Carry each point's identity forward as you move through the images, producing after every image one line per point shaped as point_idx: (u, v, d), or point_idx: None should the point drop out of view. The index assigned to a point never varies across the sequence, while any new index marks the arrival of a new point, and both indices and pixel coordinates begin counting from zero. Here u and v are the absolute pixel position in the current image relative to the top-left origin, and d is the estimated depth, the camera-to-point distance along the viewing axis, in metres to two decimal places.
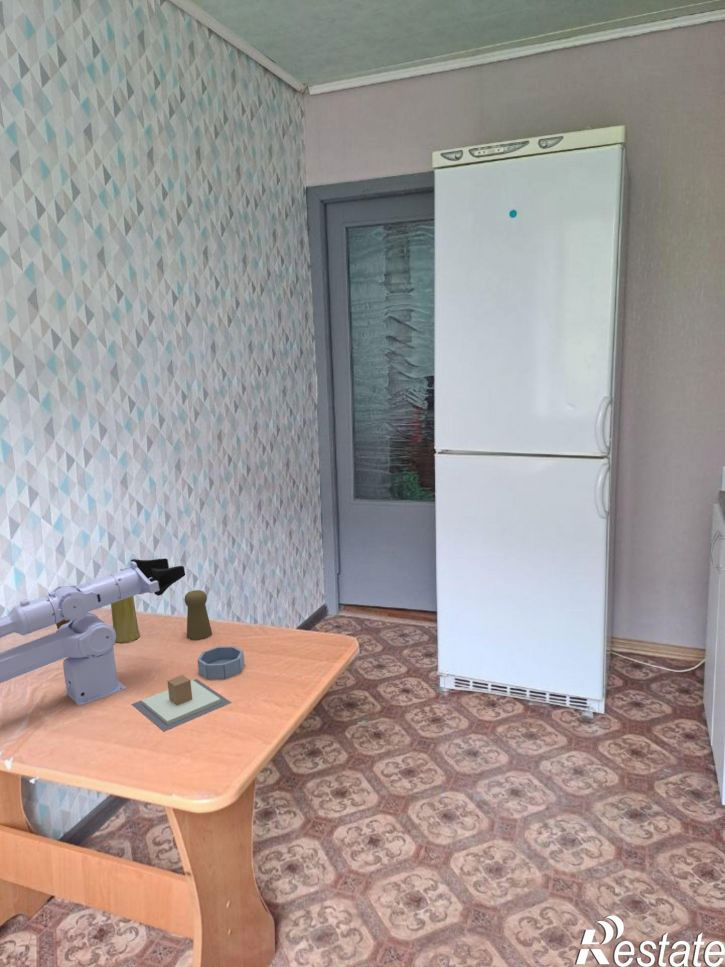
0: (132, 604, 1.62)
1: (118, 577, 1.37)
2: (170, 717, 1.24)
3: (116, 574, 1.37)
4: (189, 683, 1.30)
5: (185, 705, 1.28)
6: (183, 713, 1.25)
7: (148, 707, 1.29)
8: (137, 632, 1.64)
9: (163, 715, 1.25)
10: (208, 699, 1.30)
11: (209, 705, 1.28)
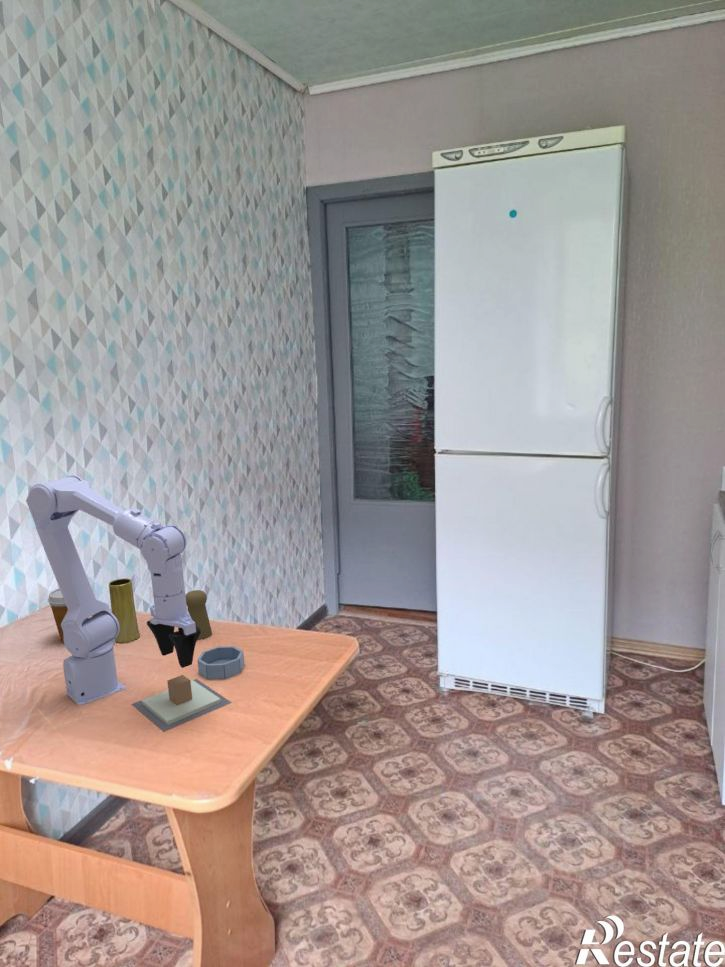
0: (132, 604, 1.62)
1: None
2: (170, 717, 1.24)
3: (154, 599, 1.25)
4: (189, 683, 1.30)
5: (185, 705, 1.28)
6: (183, 713, 1.25)
7: (148, 707, 1.29)
8: (137, 632, 1.64)
9: (163, 715, 1.25)
10: (208, 699, 1.30)
11: (209, 705, 1.28)
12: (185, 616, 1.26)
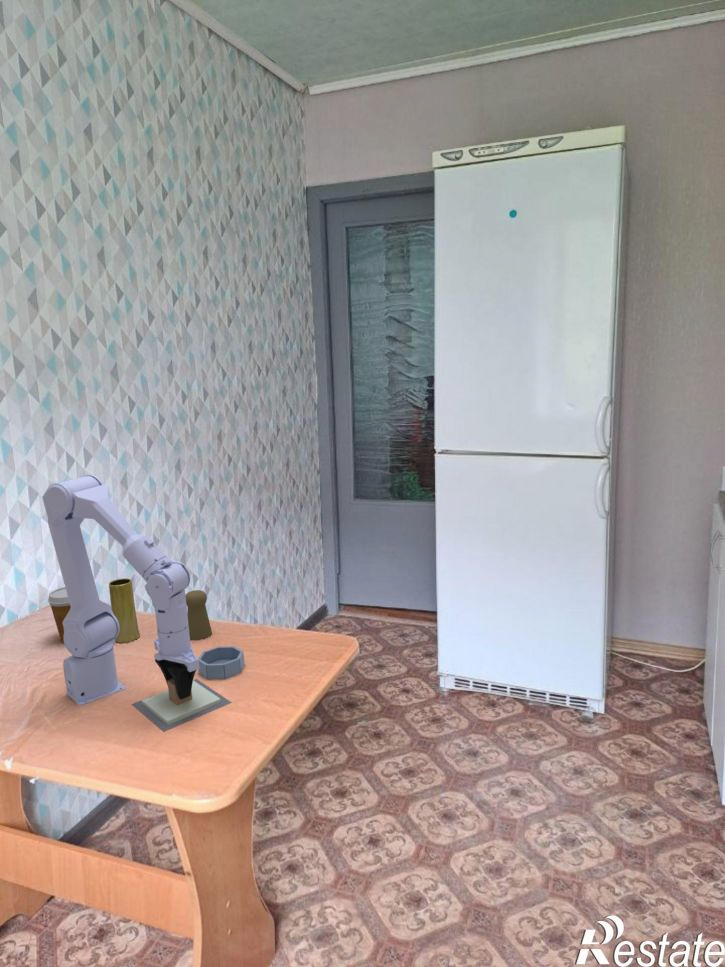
0: (132, 604, 1.62)
1: None
2: (170, 717, 1.24)
3: (158, 635, 1.26)
4: None
5: (185, 705, 1.28)
6: (183, 713, 1.25)
7: (148, 707, 1.29)
8: (137, 632, 1.64)
9: (163, 715, 1.25)
10: (208, 699, 1.30)
11: (209, 705, 1.28)
12: (189, 652, 1.27)
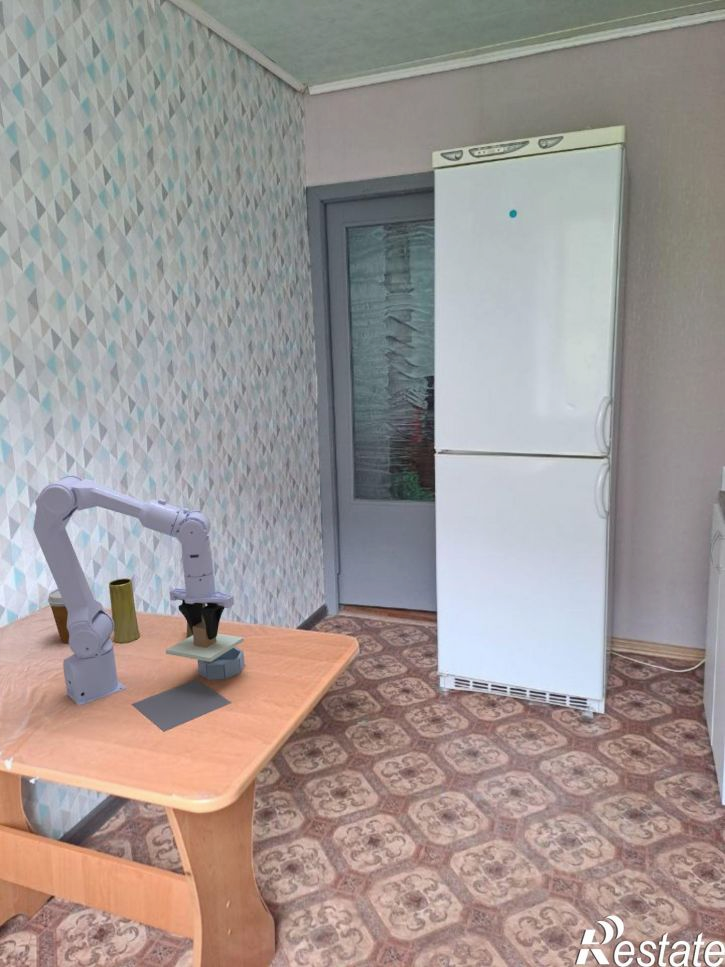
0: (132, 604, 1.62)
1: (185, 579, 1.34)
2: (210, 655, 1.32)
3: (187, 580, 1.33)
4: None
5: (214, 646, 1.36)
6: (219, 651, 1.34)
7: (177, 653, 1.34)
8: (137, 632, 1.64)
9: (201, 655, 1.32)
10: (232, 639, 1.39)
11: (236, 643, 1.38)
12: (216, 593, 1.36)
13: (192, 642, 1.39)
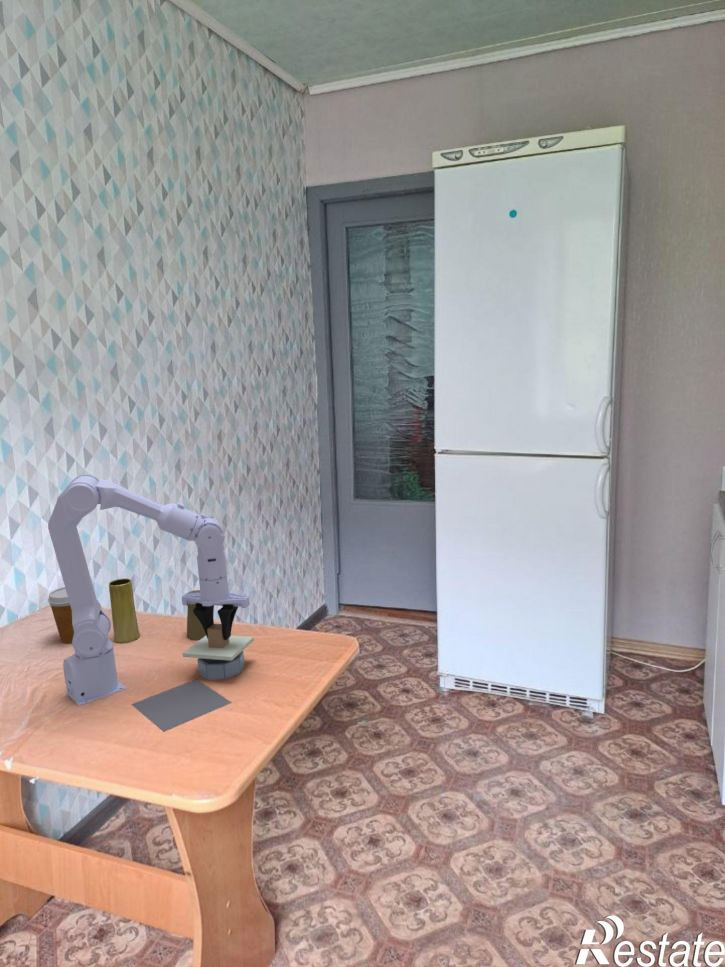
0: (132, 604, 1.62)
1: (201, 583, 1.38)
2: (230, 654, 1.37)
3: (204, 584, 1.38)
4: None
5: (229, 646, 1.42)
6: (237, 650, 1.40)
7: (195, 655, 1.38)
8: (137, 632, 1.64)
9: (221, 655, 1.37)
10: (244, 639, 1.45)
11: (249, 642, 1.44)
12: (230, 595, 1.42)
13: (205, 644, 1.43)
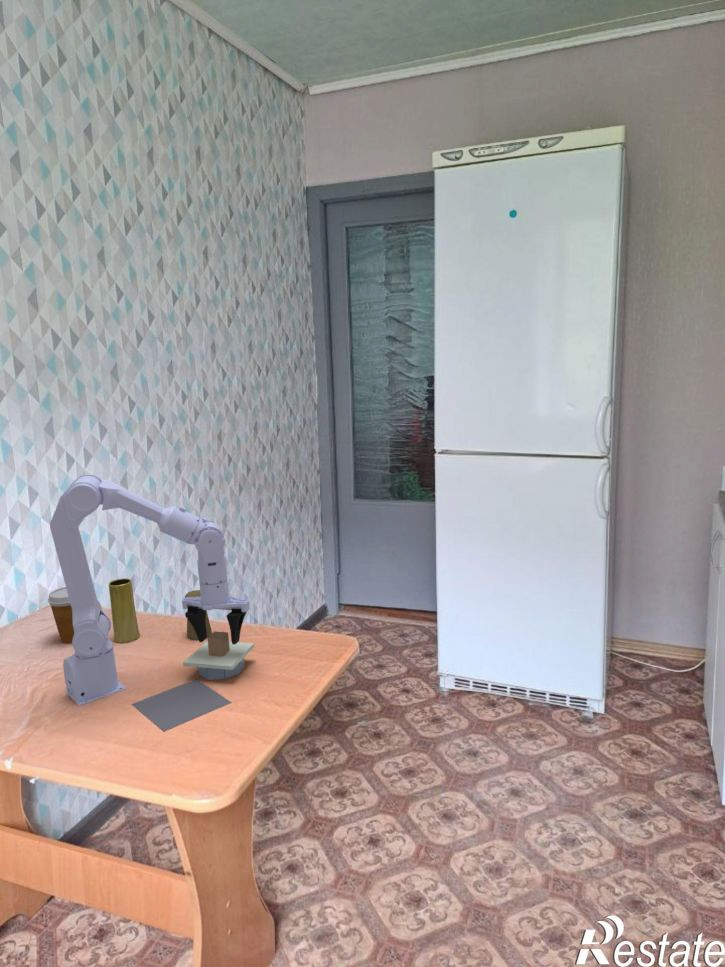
0: (132, 604, 1.62)
1: (201, 587, 1.39)
2: (230, 663, 1.38)
3: (205, 588, 1.38)
4: (227, 635, 1.43)
5: (230, 654, 1.42)
6: (237, 658, 1.40)
7: (196, 665, 1.39)
8: (137, 632, 1.64)
9: (221, 664, 1.38)
10: (244, 646, 1.46)
11: (249, 649, 1.45)
12: (230, 599, 1.42)
13: (206, 652, 1.44)
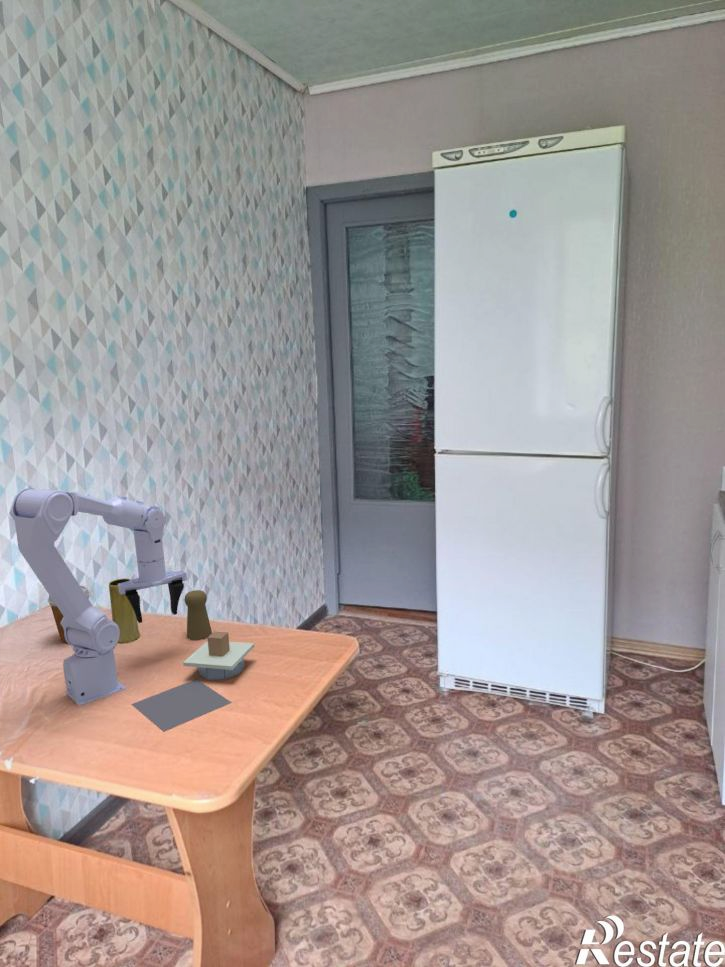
0: None
1: (146, 566, 1.46)
2: (230, 663, 1.38)
3: (151, 565, 1.46)
4: (227, 635, 1.43)
5: (230, 654, 1.42)
6: (237, 658, 1.40)
7: (196, 665, 1.39)
8: (137, 632, 1.64)
9: (221, 664, 1.38)
10: (244, 646, 1.46)
11: (249, 649, 1.45)
12: None
13: (206, 652, 1.44)
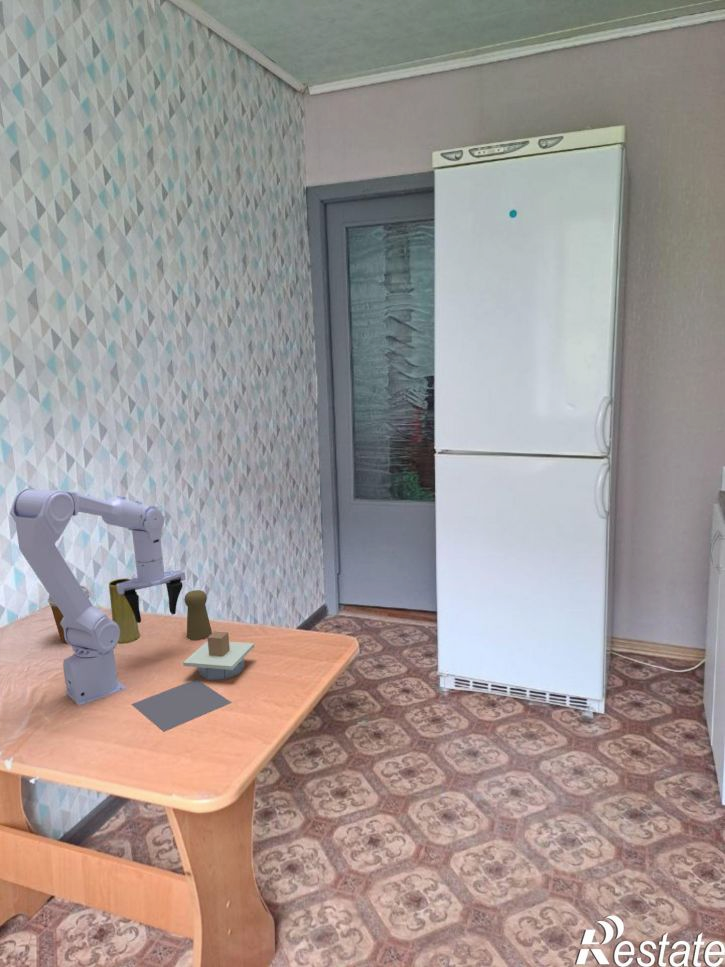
0: None
1: (145, 565, 1.46)
2: (230, 663, 1.38)
3: (150, 565, 1.46)
4: (227, 635, 1.43)
5: (230, 654, 1.42)
6: (237, 658, 1.40)
7: (196, 665, 1.39)
8: (137, 632, 1.64)
9: (221, 664, 1.38)
10: (244, 646, 1.46)
11: (249, 649, 1.45)
12: None
13: (206, 652, 1.44)
